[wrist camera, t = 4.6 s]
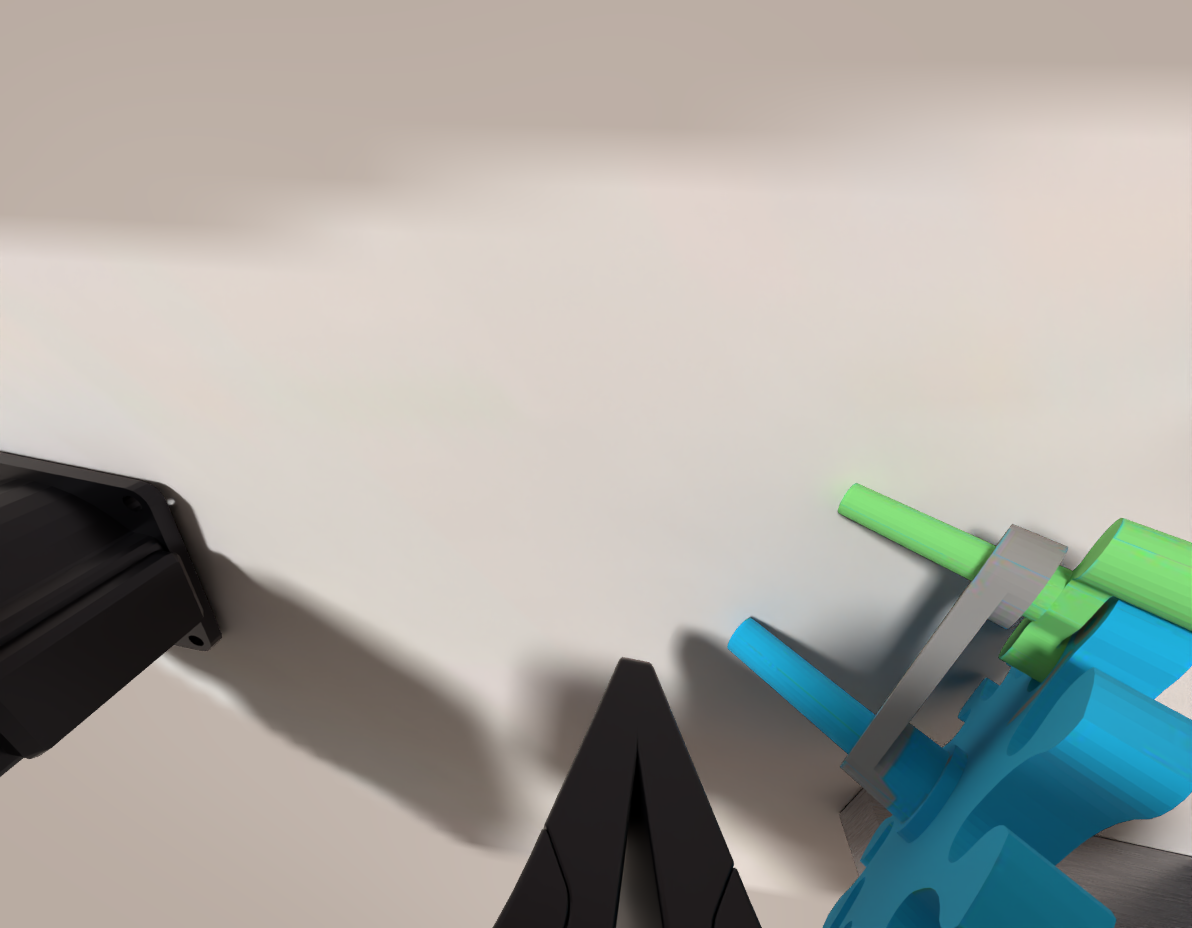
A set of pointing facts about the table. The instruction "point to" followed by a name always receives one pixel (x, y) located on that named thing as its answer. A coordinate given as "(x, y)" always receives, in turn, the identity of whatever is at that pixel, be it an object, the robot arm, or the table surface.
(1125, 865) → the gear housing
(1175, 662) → the gear
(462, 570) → the table surface
